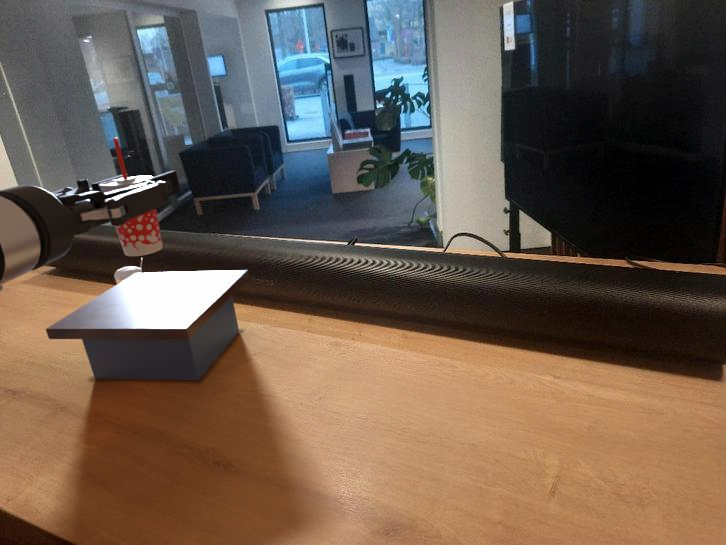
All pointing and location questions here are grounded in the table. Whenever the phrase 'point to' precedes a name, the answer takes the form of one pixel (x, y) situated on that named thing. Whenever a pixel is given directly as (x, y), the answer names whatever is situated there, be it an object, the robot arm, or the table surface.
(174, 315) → the board
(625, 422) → the table surface
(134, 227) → the beverage cup
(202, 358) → the blue box
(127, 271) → the milkshake
